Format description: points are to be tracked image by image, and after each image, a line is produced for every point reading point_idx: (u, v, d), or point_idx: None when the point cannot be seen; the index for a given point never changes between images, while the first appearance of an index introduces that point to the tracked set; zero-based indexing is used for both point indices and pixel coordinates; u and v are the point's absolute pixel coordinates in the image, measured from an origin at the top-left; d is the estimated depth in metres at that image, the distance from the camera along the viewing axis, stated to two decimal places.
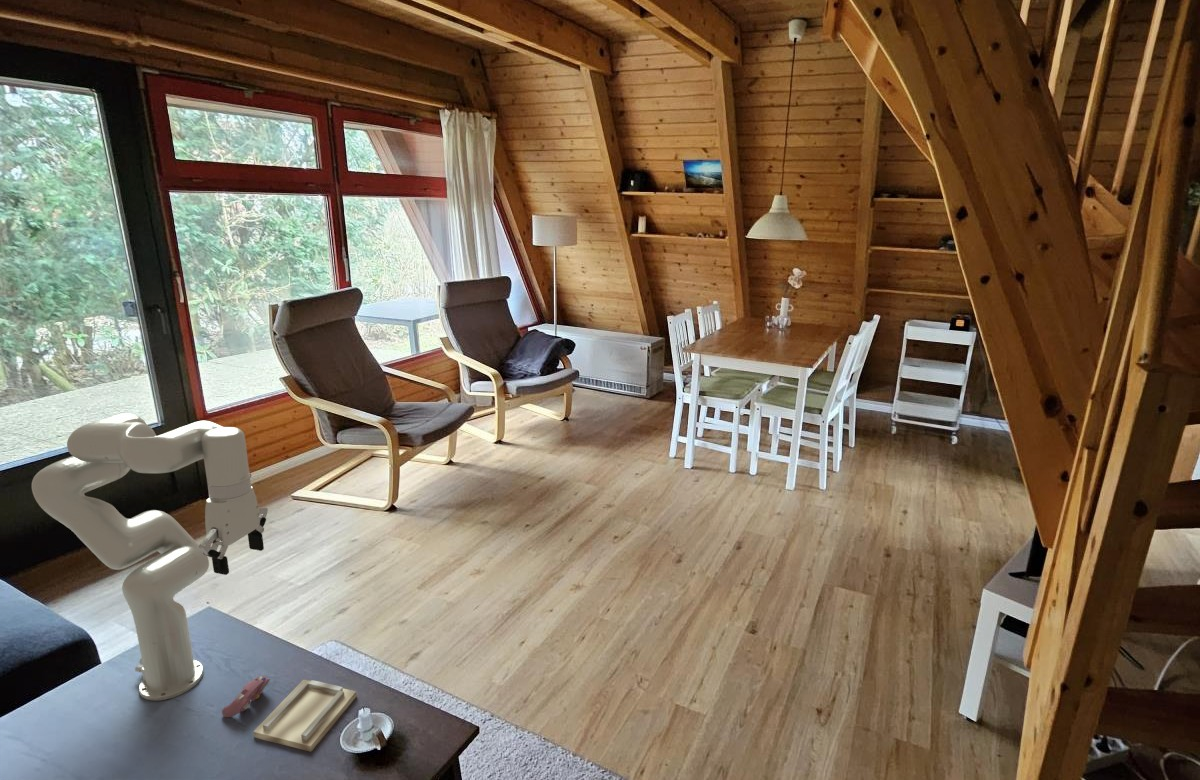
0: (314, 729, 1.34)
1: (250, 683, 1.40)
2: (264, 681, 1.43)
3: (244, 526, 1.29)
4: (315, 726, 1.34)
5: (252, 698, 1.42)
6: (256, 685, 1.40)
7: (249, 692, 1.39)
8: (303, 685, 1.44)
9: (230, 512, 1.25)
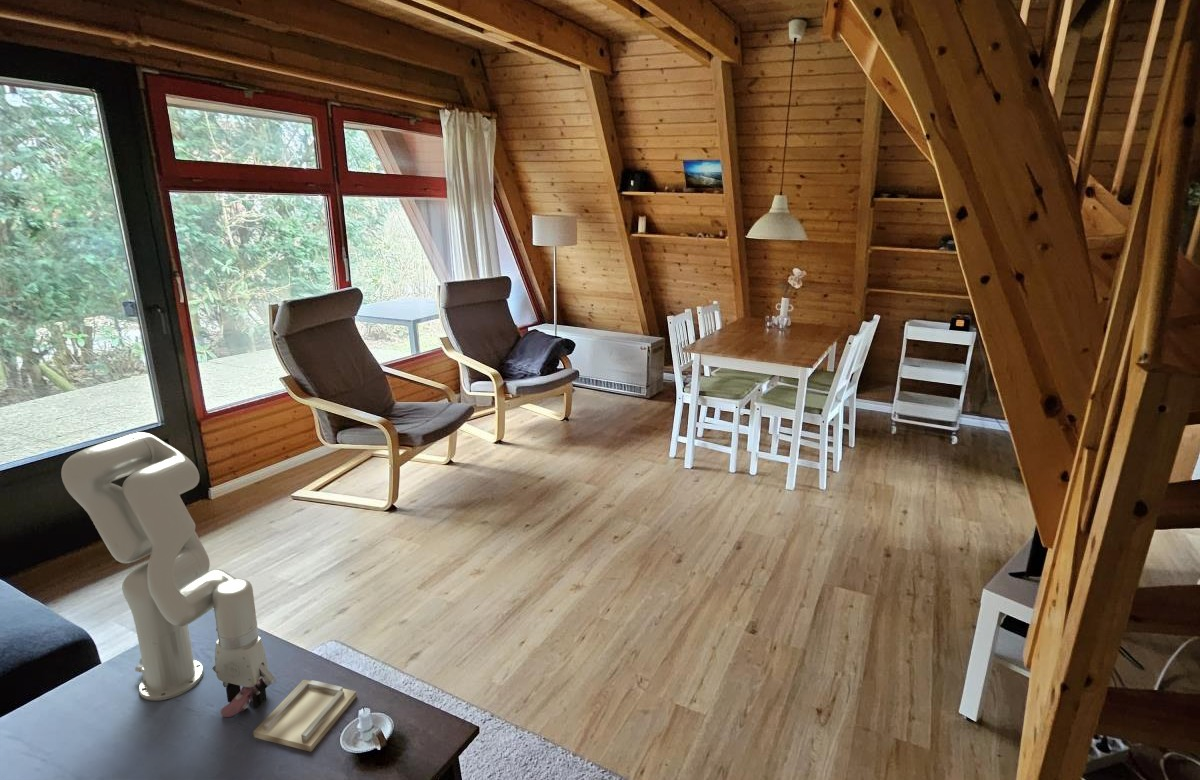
0: (314, 729, 1.34)
1: None
2: None
3: None
4: (315, 726, 1.34)
5: (251, 698, 1.42)
6: None
7: (248, 692, 1.39)
8: (303, 685, 1.44)
9: None
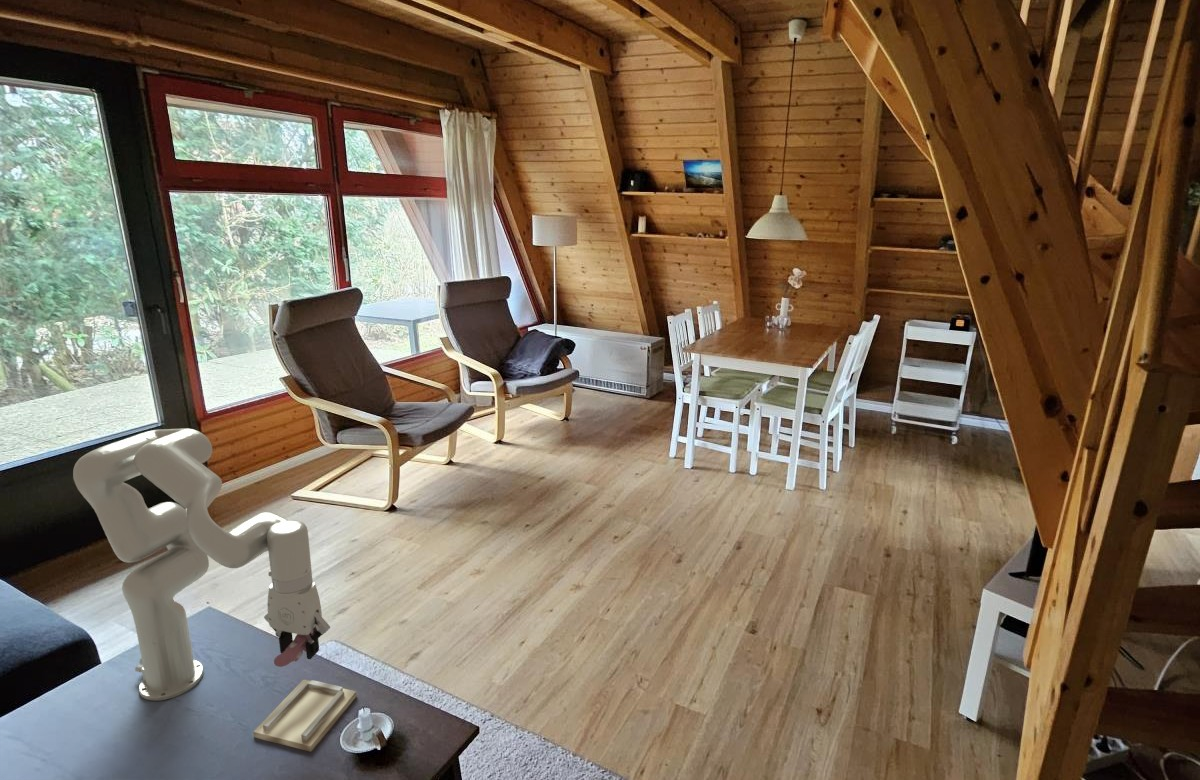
0: (314, 729, 1.34)
1: None
2: None
3: None
4: (315, 726, 1.34)
5: (304, 648, 1.35)
6: None
7: (302, 640, 1.31)
8: (303, 685, 1.44)
9: None
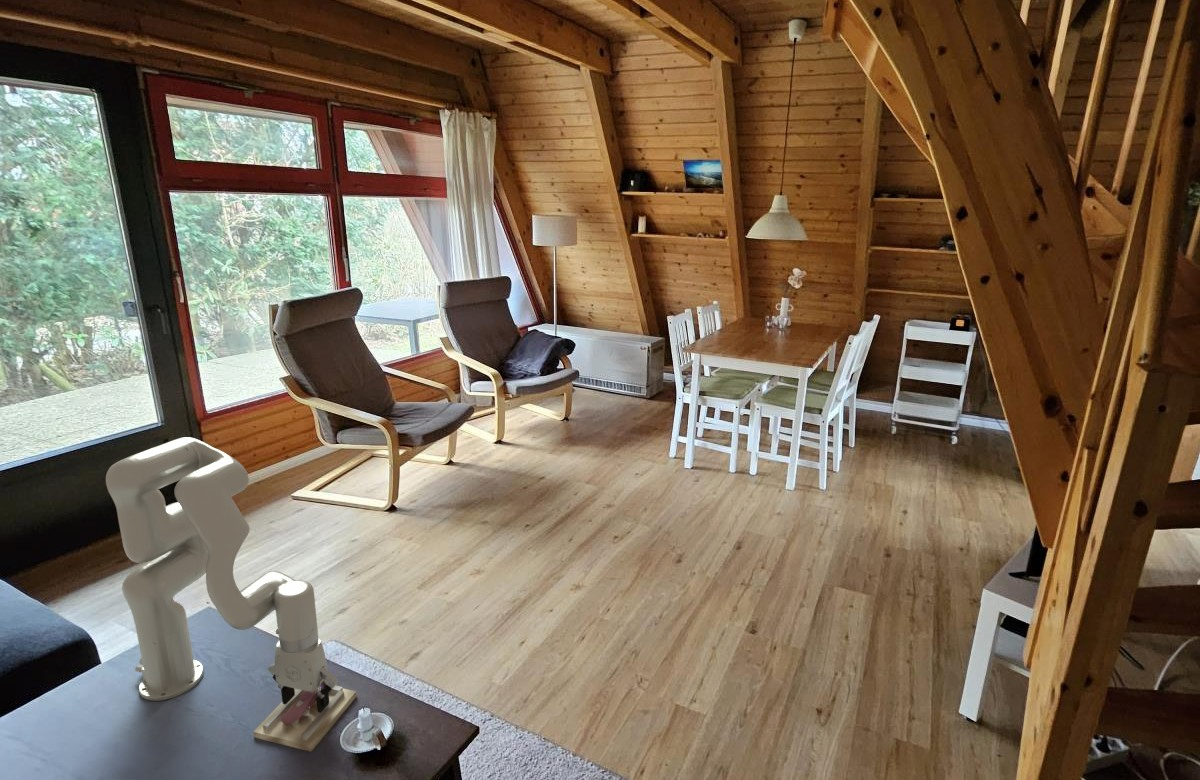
0: (314, 729, 1.34)
1: None
2: (322, 687, 1.40)
3: None
4: (315, 726, 1.34)
5: (310, 705, 1.39)
6: None
7: (308, 699, 1.35)
8: None
9: None
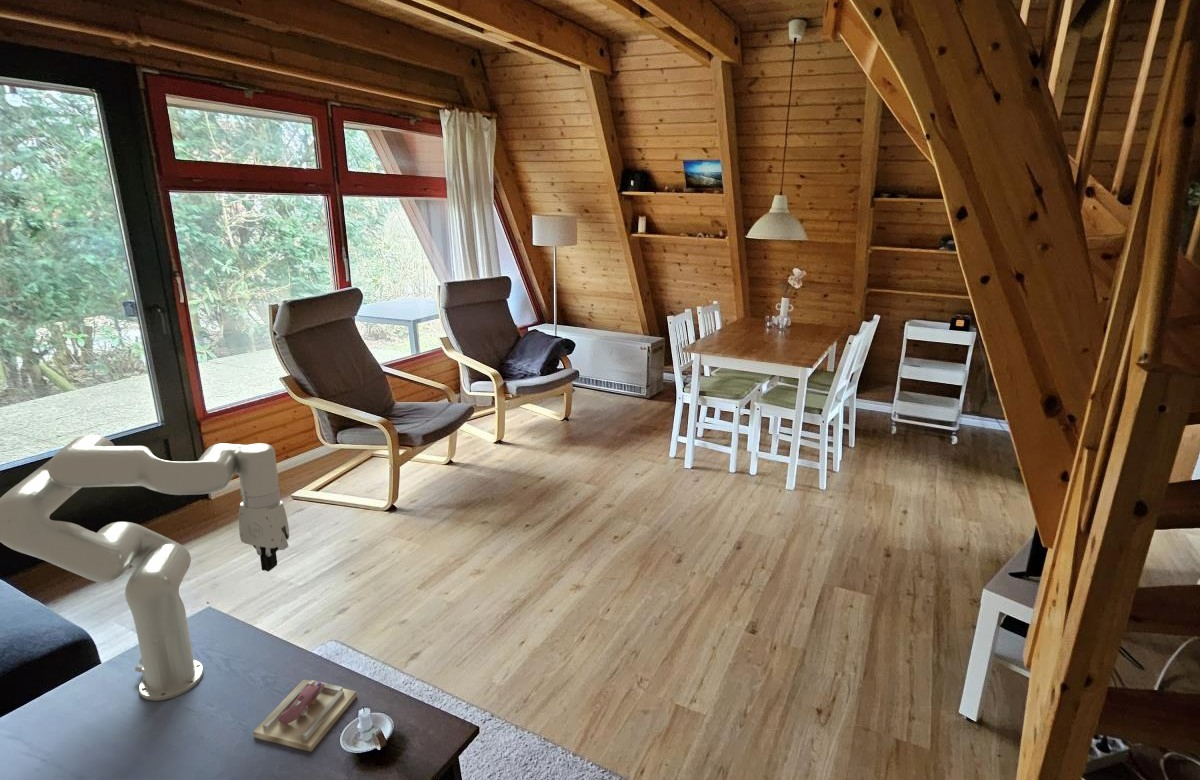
0: (314, 729, 1.34)
1: (306, 689, 1.37)
2: (320, 687, 1.40)
3: None
4: (315, 726, 1.34)
5: (308, 704, 1.39)
6: (312, 691, 1.37)
7: (306, 698, 1.35)
8: (303, 685, 1.44)
9: None
